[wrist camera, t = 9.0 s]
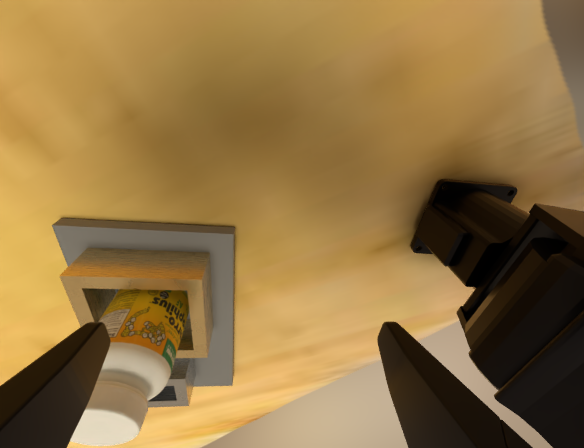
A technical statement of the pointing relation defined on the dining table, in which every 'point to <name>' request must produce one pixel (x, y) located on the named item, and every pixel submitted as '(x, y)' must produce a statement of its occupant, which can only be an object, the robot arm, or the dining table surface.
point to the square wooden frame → (144, 286)
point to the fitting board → (172, 238)
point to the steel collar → (177, 385)
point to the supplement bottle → (133, 363)
